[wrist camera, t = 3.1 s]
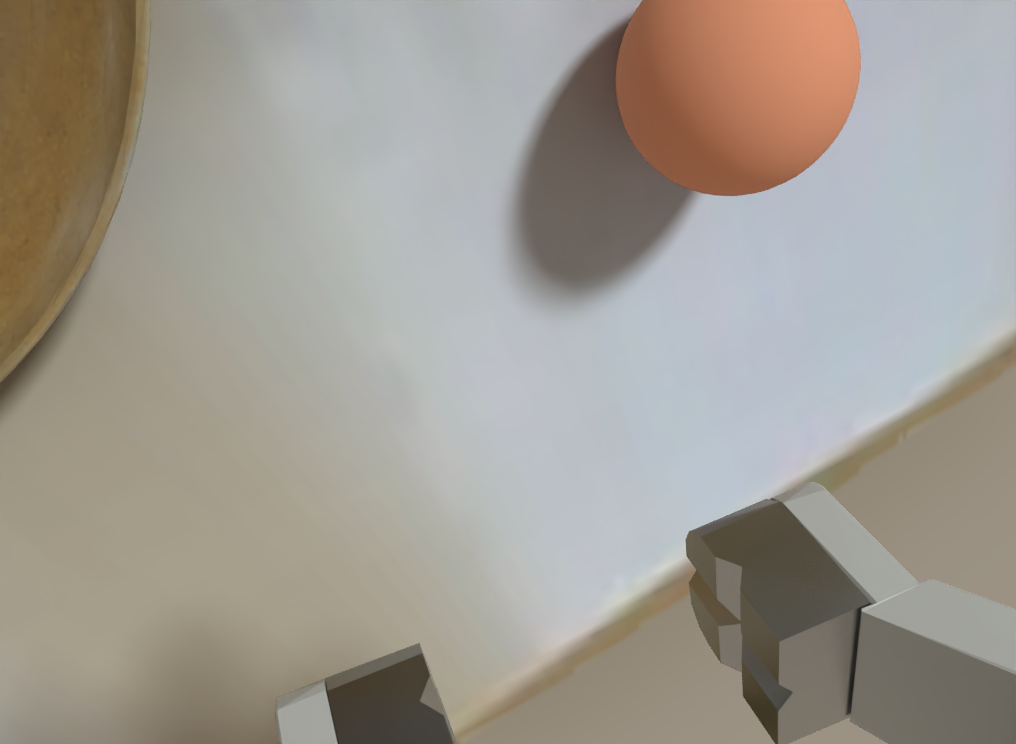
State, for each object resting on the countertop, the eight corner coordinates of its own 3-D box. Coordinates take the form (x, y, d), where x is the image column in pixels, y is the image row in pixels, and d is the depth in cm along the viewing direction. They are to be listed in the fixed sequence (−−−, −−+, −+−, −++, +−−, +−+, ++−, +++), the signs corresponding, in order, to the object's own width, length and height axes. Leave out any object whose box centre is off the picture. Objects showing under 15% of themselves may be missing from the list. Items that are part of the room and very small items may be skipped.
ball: (565, -38, 21) (678, 10, 17) (771, -95, 22) (928, -63, 18) (592, 176, 24) (693, 263, 20) (770, 119, 25) (903, 190, 21)
